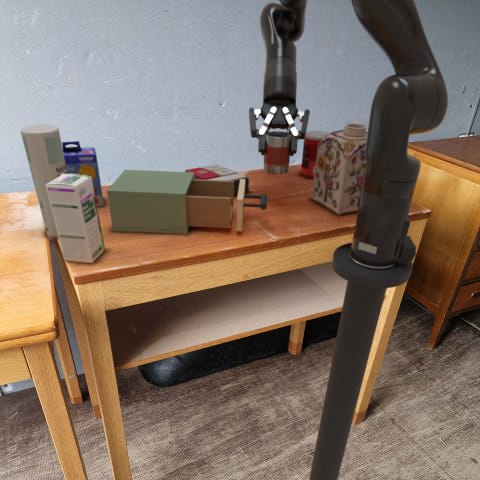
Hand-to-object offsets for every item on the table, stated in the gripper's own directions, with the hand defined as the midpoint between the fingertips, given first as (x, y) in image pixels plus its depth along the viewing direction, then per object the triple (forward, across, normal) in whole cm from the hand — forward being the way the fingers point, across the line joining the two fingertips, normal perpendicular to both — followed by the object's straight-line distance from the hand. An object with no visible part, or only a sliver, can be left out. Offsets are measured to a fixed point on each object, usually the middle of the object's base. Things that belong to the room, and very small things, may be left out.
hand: (277, 153), depth 98 cm
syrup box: (+29, -36, -11) cm, 48 cm away
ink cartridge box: (+11, -45, +6) cm, 47 cm away
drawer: (+15, -12, +1) cm, 19 cm away
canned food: (-9, +12, +27) cm, 31 cm away
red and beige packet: (+1, -15, +17) cm, 23 cm away
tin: (+2, 0, +4) cm, 5 cm away
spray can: (+22, -44, -4) cm, 49 cm away
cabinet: (+16, -26, +1) cm, 31 cm away
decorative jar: (+6, +17, +12) cm, 22 cm away
